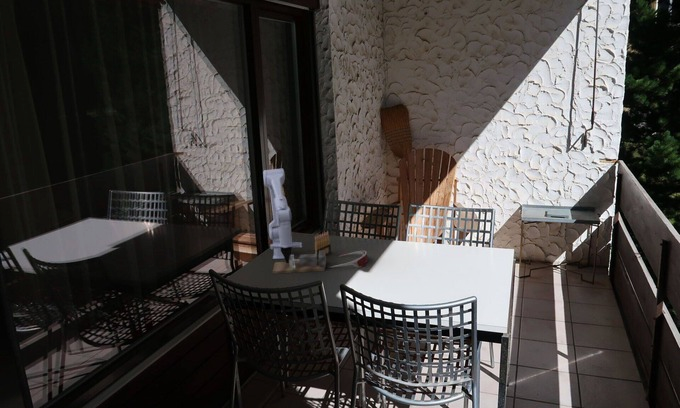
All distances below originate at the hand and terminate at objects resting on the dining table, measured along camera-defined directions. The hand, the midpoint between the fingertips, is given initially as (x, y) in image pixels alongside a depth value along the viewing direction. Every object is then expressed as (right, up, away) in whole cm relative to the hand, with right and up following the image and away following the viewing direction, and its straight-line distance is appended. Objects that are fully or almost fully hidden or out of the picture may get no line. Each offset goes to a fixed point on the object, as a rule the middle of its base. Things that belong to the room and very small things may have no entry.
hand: (287, 262), depth 260 cm
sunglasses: (+29, -1, +4) cm, 30 cm away
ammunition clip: (+16, +1, +14) cm, 22 cm away
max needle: (+4, -2, -4) cm, 6 cm away
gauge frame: (+6, -3, +1) cm, 6 cm away
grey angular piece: (+6, -1, 0) cm, 6 cm away
